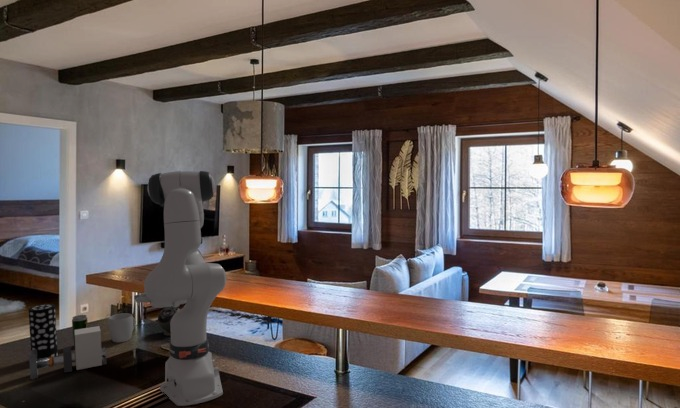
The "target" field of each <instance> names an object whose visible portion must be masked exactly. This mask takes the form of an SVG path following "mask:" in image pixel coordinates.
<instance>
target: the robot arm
mask: <svg viewBox="0 0 680 408" xmlns="http://www.w3.org/2000/svg"><path fill="white" fill-rule="evenodd" d="M146 190H147V193H148V197H150V200H151V201H152V202H153V203H154V204H156V205H159V206H160V207H163V227H164V250H163V253H162V256H161V259H160V260H159V262H158V263H157V265H156V266H155V268H153V270H151V271H149V273H148V274H147V276H146V277H145V279H144V283H143V284H144V285H143V290H144V292H143V293H139V294H134V298H133V299H134V300H135V302H136V303H137V304H140V303H146V304H147V303H149V304H150V306H151V307H152V308H156V309H157V308H158V309H160V308H164V307H171V306H173V307H179V308H180V305H184V304H185V305H184V306H183V307H182V308H181V309H180V310H179V311H178V312H177V313H175V314H174V316H173V317H172V319H171V322H170V329H171V335H170V342H169V347H168V348H169V355H170V356H169V357H168V359H167V360H166V361H165V366H164V369H165V370H164V371H165V373H164V375H165V377H164V383H162V384H160V386H159V390H161V392H162V393H163V392H164V393H165V394H166V395H167V396H168V397H169V398H168V397H167V396H166V395H165V394H164V393H163V394H164V395H165V396H166V397H167V398H168V399H169V400H170V401H171V402H172V403H174V405H175V406H178V407H180V406H181V407H182V406H183V407H185V406H191V405H192V406H193V405H199V404H200V403H207V402H209V401H212V400H215V399H217V398H219V397H221V396H222V395H223V394H224V392H223V387H222V382H221V377H220V368H219V366H215V367H214V365H215V364H216V359H213V354H212V352H210V348H209V345H210V344H209V339H208V336H207V321H208V315H209V310H210V308H211V305H212V304H213V302H214V300H215V299H216V297H217V296H218V295H219V294H221V292H223V291H224V289H225V286H226V284H227V273H226V270H225V269H224V267H222V265H221V264H219V263H214V262H206V261H205V259H204V258H203V254H202V253H201V251H200V250H199V248H200V246H201V244H202V232H201V229H202V228H203V226H204V222H205V221H204V220H205V213H204V205H203V202H207V201H209V200H212V199H213V198H214V195H215V192H216V181H215V179H214V177H213V175H212V174H211V173H210V172H209V171H205V170H200V171H193V170H192V171H190V170H189V171H188V170H187V171H184V170H183V171H181V170H177V171H168V172H164V173H162V172H159V173H155V174H152V175H151V176H150V177H149V178H148V183H147V189H146Z"/></svg>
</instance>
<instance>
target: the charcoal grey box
mask: <svg viewBox="0 0 680 408" xmlns="http://www.w3.org/2000/svg"><path fill="white" fill-rule="evenodd" d="M62 347H63V348H62V349H63V350H62V351H63V352H62V355H63V359H64V364H63V373H64V374H65V373H70V372H73V362H72V357H71V354H72V345H71V344H70V345H63V346H62Z"/></svg>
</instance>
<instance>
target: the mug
mask: <svg viewBox="0 0 680 408" xmlns="http://www.w3.org/2000/svg"><path fill="white" fill-rule="evenodd" d="M135 327H136V319H135V317H133V314H132V313H128V312H127V313H116V314H113V315H111V316H109V317H108V329H109V330H108V332H109V335H110V336H109V337H110V339H111V341H112V342H113V343H118V344H119V343H125V342H127V341H130V339H131V338H132V335H133V330H134V329H135Z"/></svg>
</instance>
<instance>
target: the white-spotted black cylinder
mask: <svg viewBox="0 0 680 408" xmlns="http://www.w3.org/2000/svg"><path fill="white" fill-rule="evenodd" d="M27 312H28V322H29V325H28V328H29V341H30V350H35V349H37V358H38V360H39V359H44V358H49V357H51V356H53V357H56V356H59V355H58V353H59V352H58V338H57V337H58V336H57V335H58V334H57V318H56V317H57V316H56V305H55V304H54V303H44V304H38V305H33V306H31V307H29V308H28V311H27Z"/></svg>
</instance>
